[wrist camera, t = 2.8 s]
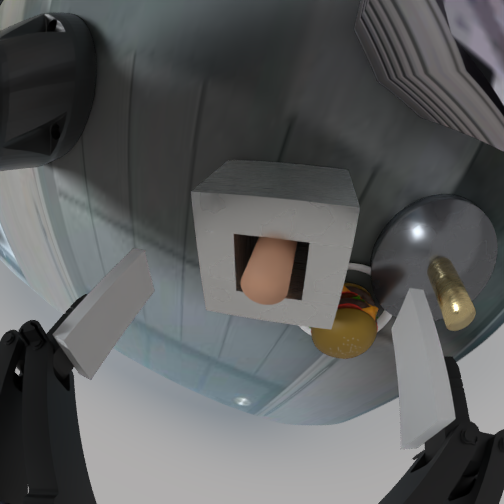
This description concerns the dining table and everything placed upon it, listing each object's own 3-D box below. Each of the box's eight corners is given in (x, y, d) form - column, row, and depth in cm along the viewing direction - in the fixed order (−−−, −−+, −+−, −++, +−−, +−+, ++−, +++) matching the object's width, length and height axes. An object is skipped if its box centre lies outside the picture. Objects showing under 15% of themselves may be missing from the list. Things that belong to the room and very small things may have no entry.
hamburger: (316, 356, 27) (311, 401, 23) (245, 277, 23) (226, 325, 19) (425, 315, 21) (438, 363, 17) (378, 209, 17) (394, 252, 13)
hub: (355, 308, 22) (357, 367, 17) (388, 180, 16) (415, 222, 11) (460, 317, 20) (477, 368, 15) (509, 210, 13) (550, 253, 9)
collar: (233, 256, 22) (206, 310, 17) (229, 159, 17) (190, 191, 12) (332, 269, 20) (331, 329, 15) (348, 169, 16) (360, 207, 11)
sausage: (268, 228, 19) (241, 300, 13) (270, 199, 18) (240, 264, 12) (300, 232, 19) (285, 307, 13) (303, 202, 18) (290, 271, 12)
